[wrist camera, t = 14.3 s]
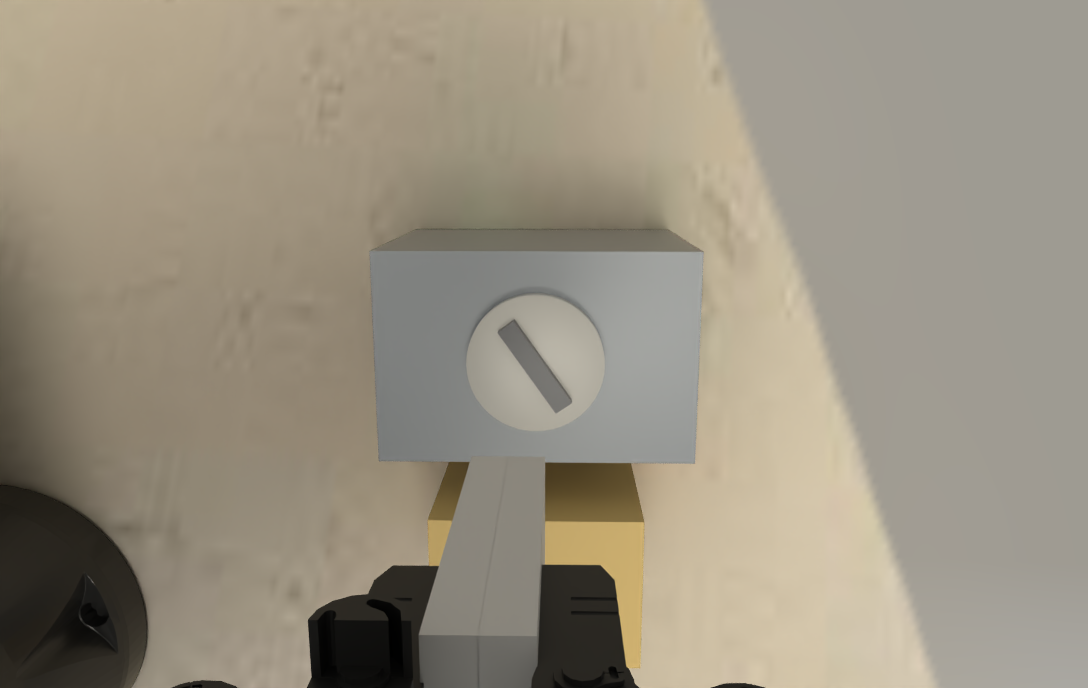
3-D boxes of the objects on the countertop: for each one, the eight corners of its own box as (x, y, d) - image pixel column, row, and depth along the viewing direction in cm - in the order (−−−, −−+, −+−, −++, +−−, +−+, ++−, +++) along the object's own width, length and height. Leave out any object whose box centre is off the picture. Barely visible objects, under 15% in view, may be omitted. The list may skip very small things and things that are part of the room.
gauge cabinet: (663, 392, 41) (700, 476, 30) (422, 390, 41) (371, 473, 30) (668, 229, 40) (709, 256, 28) (416, 229, 40) (360, 255, 29)
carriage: (620, 540, 43) (640, 668, 32) (464, 539, 43) (432, 665, 32) (622, 428, 41) (644, 522, 31) (462, 427, 42) (427, 520, 31)
